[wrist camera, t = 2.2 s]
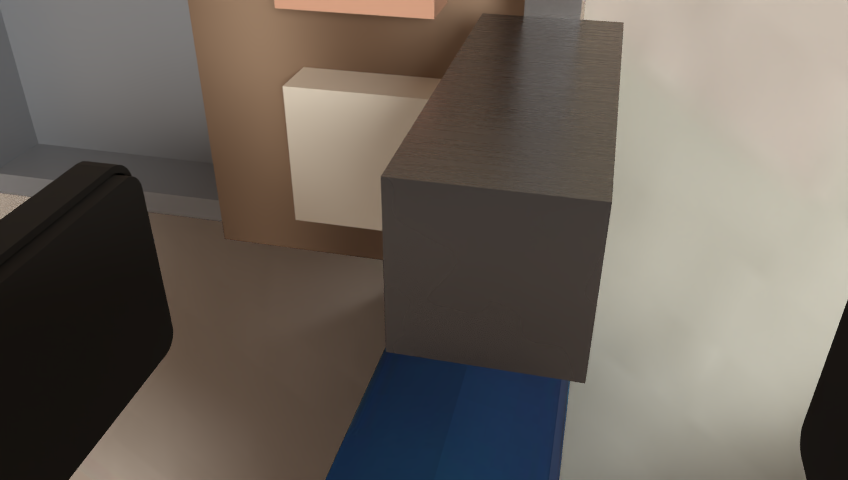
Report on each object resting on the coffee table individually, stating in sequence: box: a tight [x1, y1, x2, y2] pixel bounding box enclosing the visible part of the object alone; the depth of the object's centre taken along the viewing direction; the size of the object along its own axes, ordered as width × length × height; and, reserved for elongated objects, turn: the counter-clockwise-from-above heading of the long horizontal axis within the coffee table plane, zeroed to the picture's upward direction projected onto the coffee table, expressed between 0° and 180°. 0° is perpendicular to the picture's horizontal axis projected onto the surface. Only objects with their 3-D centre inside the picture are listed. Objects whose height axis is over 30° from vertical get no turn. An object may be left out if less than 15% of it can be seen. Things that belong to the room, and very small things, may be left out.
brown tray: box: [188, 0, 525, 260], centre depth 22 cm, size 10×14×4 cm
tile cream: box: [283, 67, 441, 231], centre depth 21 cm, size 4×4×2 cm
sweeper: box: [381, 0, 624, 383], centre depth 15 cm, size 3×12×10 cm, turn 0°
